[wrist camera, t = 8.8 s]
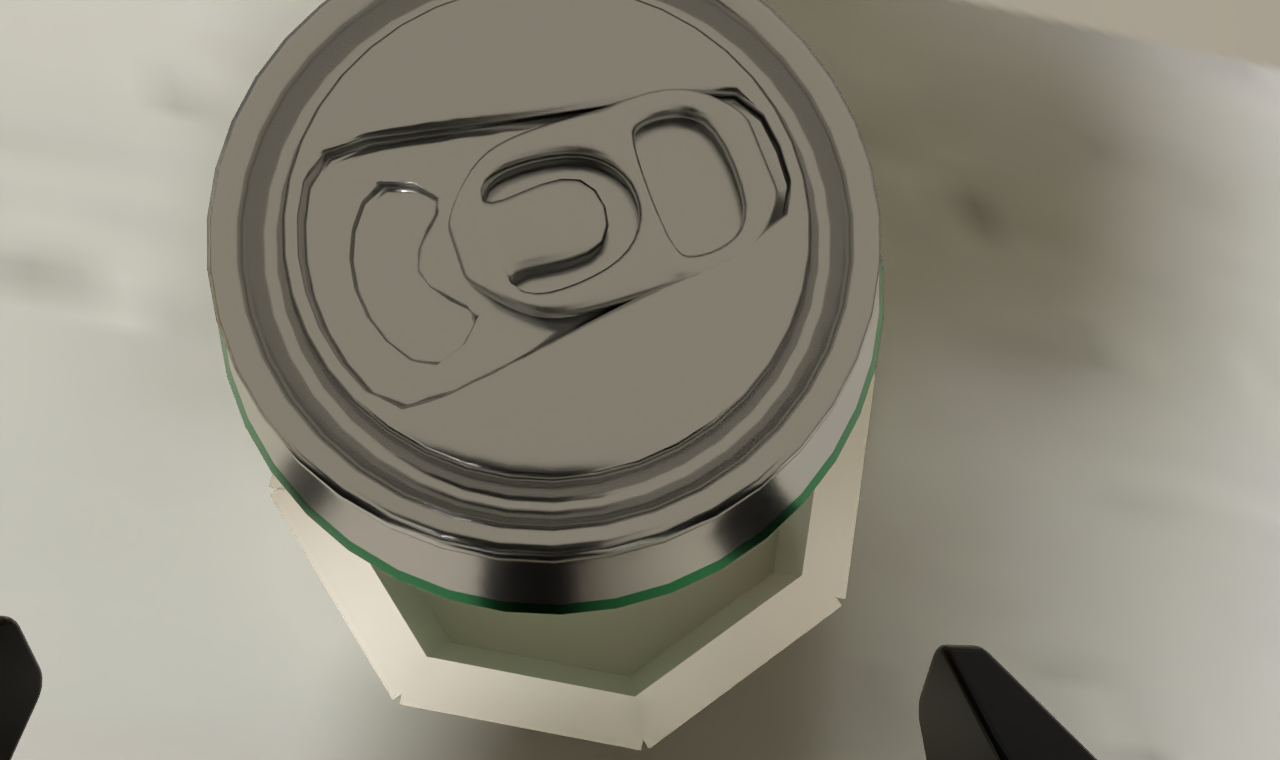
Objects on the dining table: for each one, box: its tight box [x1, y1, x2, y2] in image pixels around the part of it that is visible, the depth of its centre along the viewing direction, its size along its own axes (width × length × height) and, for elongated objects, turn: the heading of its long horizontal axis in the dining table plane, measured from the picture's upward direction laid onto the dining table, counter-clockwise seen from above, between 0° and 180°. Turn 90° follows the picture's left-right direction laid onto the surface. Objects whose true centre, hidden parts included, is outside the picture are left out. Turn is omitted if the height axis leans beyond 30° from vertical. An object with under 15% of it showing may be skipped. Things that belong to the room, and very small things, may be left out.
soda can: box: [207, 0, 883, 615], centre depth 11 cm, size 5×5×12 cm
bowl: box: [269, 375, 875, 751], centre depth 16 cm, size 10×10×3 cm
